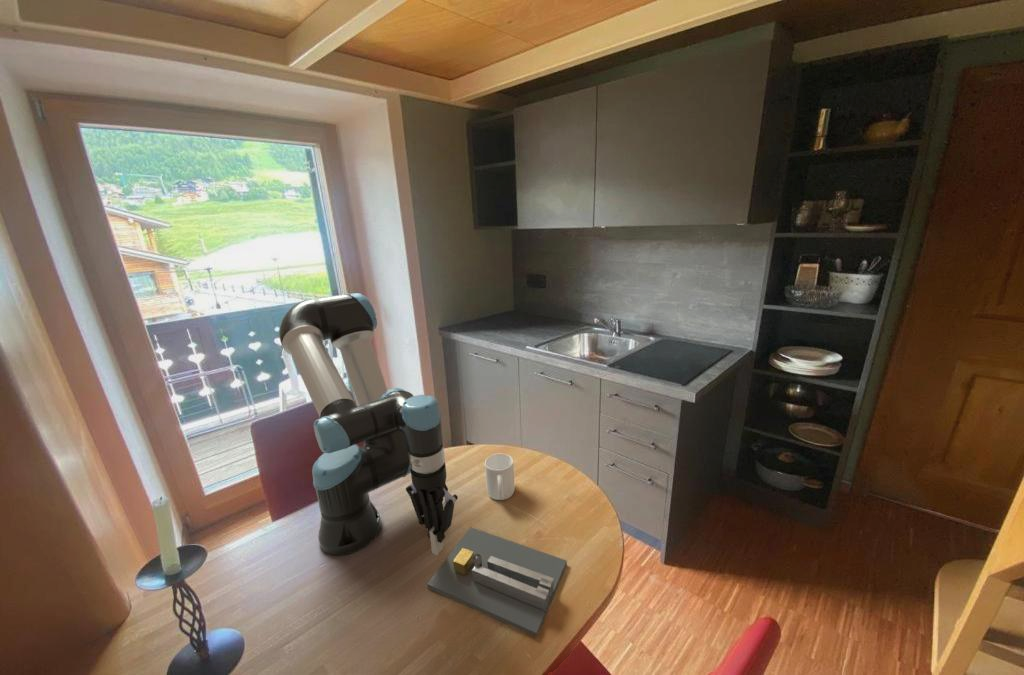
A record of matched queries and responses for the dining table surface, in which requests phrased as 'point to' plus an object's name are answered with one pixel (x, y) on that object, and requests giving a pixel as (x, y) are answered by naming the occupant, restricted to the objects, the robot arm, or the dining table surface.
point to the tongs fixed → (509, 585)
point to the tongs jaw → (521, 574)
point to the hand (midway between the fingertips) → (438, 549)
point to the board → (488, 598)
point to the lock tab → (463, 561)
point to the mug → (499, 476)
